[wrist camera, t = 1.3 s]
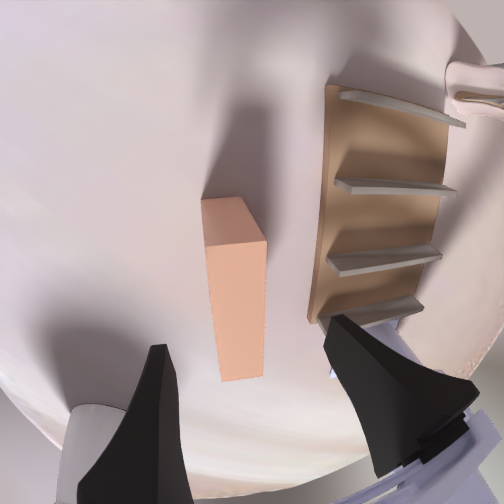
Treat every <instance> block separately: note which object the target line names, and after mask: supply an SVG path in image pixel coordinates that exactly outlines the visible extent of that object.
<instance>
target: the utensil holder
mask: <svg viewBox="0 0 504 504" xmlns="http://www.w3.org/2000/svg"><path fill="white" fill-rule="evenodd" d="M125 413H126V411H124V410H121V409H118V408H114V407H110V406H106V405H99V404H82V405H78V406H76V407H74V408H73V410H72V412H71V415H70V418H69V422H68V426H67V430H66V434H65V438H64V443H63V449H62V454H61V461H60V467H59V475H58V483H57V493H56V502H55V503H54V504H77V496H76V495H77V486H78V483H79V481H80V480H81V479H82V478H83V477H84V476H85V474H86V473H87V472H88V471H89V470H90V469H91V467H92V466H93V465H94V464H95V462H96V461H97V459H98V458H99V457H100V455H101V454H102V452H103V451H104V450H105V448H106V447H107V445H108V444H109V442H110V440H111V439H112V437H113V435H114V434H115V432H116V430H117V429H118V427H119V425H120V423H121V421H122V419H123V417H124V415H125Z"/></svg>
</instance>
